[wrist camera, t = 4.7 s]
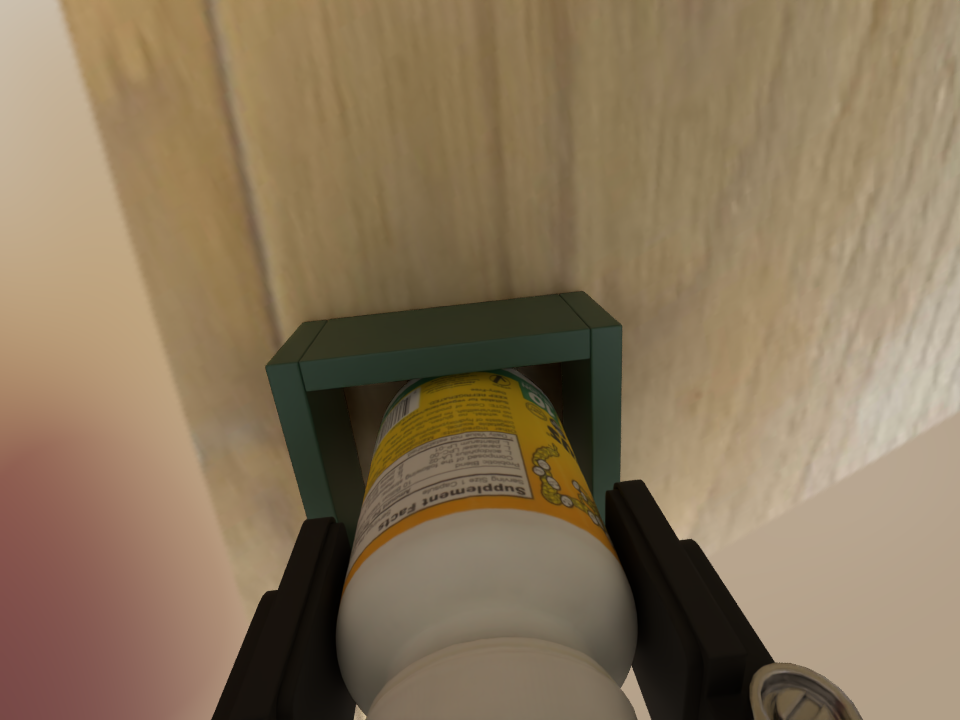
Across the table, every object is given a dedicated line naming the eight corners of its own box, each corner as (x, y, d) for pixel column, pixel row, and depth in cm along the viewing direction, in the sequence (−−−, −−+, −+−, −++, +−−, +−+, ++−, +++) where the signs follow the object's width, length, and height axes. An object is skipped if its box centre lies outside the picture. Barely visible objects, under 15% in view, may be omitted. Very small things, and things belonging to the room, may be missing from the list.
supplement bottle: (361, 370, 14) (216, 749, 5) (549, 339, 14) (731, 663, 5) (402, 520, 16) (349, 971, 7) (565, 493, 16) (713, 911, 7)
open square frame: (301, 322, 15) (263, 365, 12) (584, 290, 15) (623, 324, 12) (355, 546, 18) (337, 630, 15) (587, 516, 18) (619, 592, 15)
